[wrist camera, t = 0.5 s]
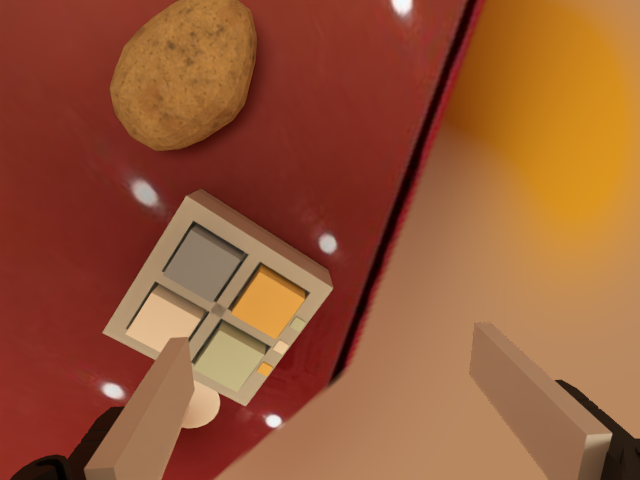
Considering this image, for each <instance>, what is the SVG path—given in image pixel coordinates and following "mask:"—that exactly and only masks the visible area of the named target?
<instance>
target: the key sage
mask: <svg viewBox="0 0 640 480" xmlns="http://www.w3.org/2000/svg"><path fill="white" fill-rule="evenodd" d="M265 349H266V343H264V342H262V341H260V340H259V339H257V338H255V337H253V336H251V335H250V334H248V333H246V332H244V331H243V330H241V329H239V328H237V327H235V326H234V325H232V324H230V323H228V322H227V321H225V320H222V322H221V323H220V325H219V326H218V328H217V329H216V331H215V332H214V334H213V335H212V336H211V338H210V339H209V341H208V342H207V344H206V345H205V347H204V348H203V350H202V351H201V352H200V354H199V356H198V358H197V361H196V363H195V365H194V367H193V370H195V371H197V372H199V373H201V374H203V375H205V376H207V377H209V378H210V379H212V380H214V381H216V382H218V383H220V384H222V385H224V386H226V387H228V388H230V389H232V390H234V391H235V392H238V391H239V389H240V388H241V387H242V385H243V384H244V383H245V381H246V380H247V379H248V377H249V376H250V374H251V373H252V372H253V370H254V369H255V368H256V366H257V365H258V363H259V362H260V361H261V359H262V358H263V357H264V355H265Z"/></svg>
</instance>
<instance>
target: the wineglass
mask: <svg viewBox="0 0 640 480" xmlns="http://www.w3.org/2000/svg"><path fill="white" fill-rule="evenodd" d="M194 388H195V391H194V393H193V395H192V398H191V400H190V403H189V405H188V407H187V410H186V412H185V414H184V417H183V419H182V422H181V424H180V426H179V429H178V431H177V434H176V436H175V438H174V441H173V443H172V446H171V448H170V450H169V453H168V455H167V458H166V460H165V462H164V465H163V467H162V470H161V472H160V474H159V477H158V479H157V480H161V479H162V476H163V473H164V471H165V468H166V466H167V463H168V461H169V458H170V456H171V453H172V451H173V448H174V446H175V443H176V441H177V438H178V436H179V433H180V431H181V428H198V427H200V426H203V425H206V424H207V423H209V422H210V421H211V420H213V419H214V417H215V416H216V415H217V413H218V411H219V407H220V399H219V395H218V393H217V391H215V390H213V389H211V388H209V387H207V386H205V385H203V384H201V383H199V382H197V381H195V380H194Z"/></svg>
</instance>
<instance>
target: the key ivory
mask: <svg viewBox="0 0 640 480" xmlns="http://www.w3.org/2000/svg"><path fill="white" fill-rule="evenodd" d="M205 311H206V310H205V309H203V308H202V307H200V306H198V305H196V304H195V303H193V302H191V301H189V300H188V299H186V298H184V297H182V296H180V295H179V294H177V293H175V292H173V291H172V290H170V289H168V288H166V287H164V286H163V285H161V284H159V285H158V286H157V287H156V288H155V289H154V290H153V291H152V293H151V294H150V296H149V297H148V299H147V300H146V302H145V304H144V305H143V307H142V308H141V310H140V312H139V313H138V315H137V316H136V318H135V320H134V321H133V323H132V324H131V326H130V327H129V329H128V331H127V332H126V335H128V336H130V337H132V338H133V339H135V340H137V341H139V342H141V343H143V344H145V345H147V346H149V347H151V348H153V349H155V350H157V351H159V352H160V353H161V351H162V350H163V348H164V347H165V345H166V344H167V342H168V341H169V339H170V338H176V337H188V338H189V336H190V335H191V333H192V332H193V330H194V329H195V327H196V326H197V324H198V323H199V321H200V320H201V318H202V316H203V314H204V313H205Z"/></svg>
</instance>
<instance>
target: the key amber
mask: <svg viewBox="0 0 640 480" xmlns="http://www.w3.org/2000/svg"><path fill="white" fill-rule="evenodd" d="M304 301H305V289H304V288H302V287H300V286H299V285H297V284H296V283H294V282H292V281H291V280H289V279H287V278H286V277H284V276H283V275H281V274H279V273H278V272H276V271H275V270H273V269H271V268H270V267H268V266H266V265H265V264H263V263H262V264H261V265H260V267H259V268H258V269H257V271H256V272H255V274H254V275H253V277H252V278H251V280H250V281H249V283H248V284H247V285H246V287H245V288H244V290H243V291H242V293H241V294H240V296H239V297H238V299H237V300H236V301H235V304H234V306H233V309H232V312H231V314H232V315H234V316H235V317H237V318H239V319H241V320H242V321H244V322H246V323H248V324H249V325H251V326H253V327H255V328H256V329H258V330H260V331H262V332H263V333H265V334H267V335H269V336H270V337H272V338H274V339H277V337H278V336H279V335H280V333H281V332H282V331H283V329H284V328H285V327H286V325H287V324H288V322H289V321H290V320H291V318H292V317H293V316H294V314H295V313H296V311H297V310H298V309H299V307H300V306H301V305H302V303H303V302H304Z"/></svg>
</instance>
